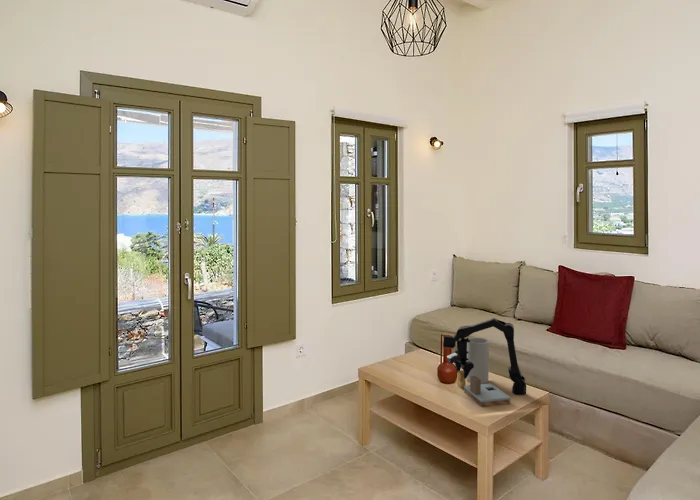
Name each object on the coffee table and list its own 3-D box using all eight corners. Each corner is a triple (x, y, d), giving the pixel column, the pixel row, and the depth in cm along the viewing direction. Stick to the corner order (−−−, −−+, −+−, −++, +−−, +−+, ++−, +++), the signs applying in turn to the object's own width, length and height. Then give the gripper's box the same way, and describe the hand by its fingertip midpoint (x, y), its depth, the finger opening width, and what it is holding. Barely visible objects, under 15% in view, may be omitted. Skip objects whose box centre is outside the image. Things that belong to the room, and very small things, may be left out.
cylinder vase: (490, 385, 278) (491, 343, 275) (469, 385, 278) (469, 343, 276) (485, 377, 290) (485, 337, 288) (464, 377, 290) (465, 337, 288)
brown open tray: (490, 391, 268) (490, 385, 268) (509, 405, 249) (509, 399, 249) (464, 393, 265) (464, 387, 265) (481, 408, 246) (481, 402, 245)
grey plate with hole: (491, 385, 268) (491, 369, 268) (510, 399, 248) (510, 382, 248) (464, 387, 265) (464, 371, 264) (481, 402, 245) (481, 385, 244)
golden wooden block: (462, 387, 275) (463, 370, 274) (465, 389, 272) (465, 372, 271) (457, 387, 275) (457, 370, 274) (460, 389, 271) (460, 372, 271)
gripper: (442, 345, 279) (442, 371, 280) (455, 355, 261) (455, 382, 262) (460, 344, 281) (459, 369, 282) (474, 353, 263) (474, 380, 264)
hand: (461, 375), depth 273 cm, fingers open, 9 cm apart
